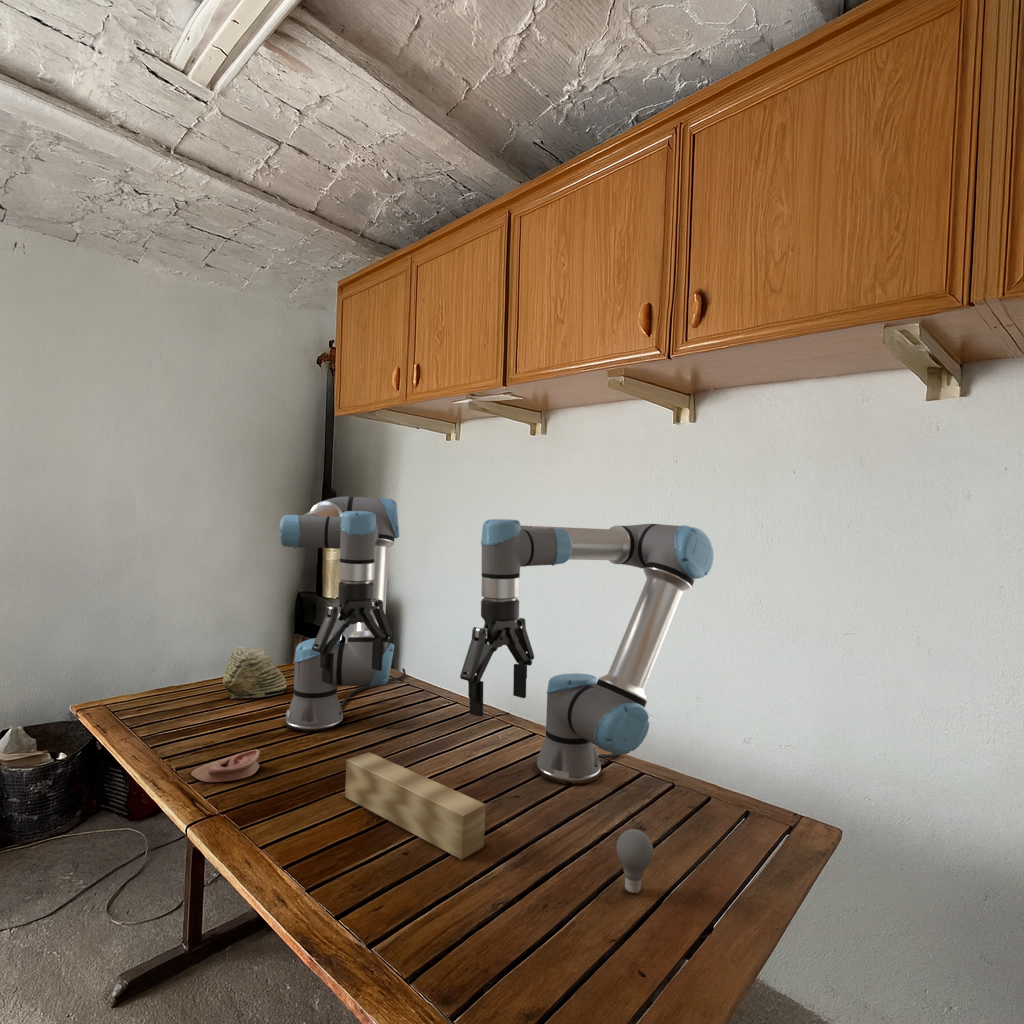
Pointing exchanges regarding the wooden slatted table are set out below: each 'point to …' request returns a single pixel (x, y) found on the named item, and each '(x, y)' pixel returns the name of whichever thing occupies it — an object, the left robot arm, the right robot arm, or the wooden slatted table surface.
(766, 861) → the wooden slatted table surface
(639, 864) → the light bulb
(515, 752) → the wooden slatted table surface
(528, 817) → the wooden slatted table surface
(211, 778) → the anatomical model
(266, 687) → the fossil
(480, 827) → the birch beam
